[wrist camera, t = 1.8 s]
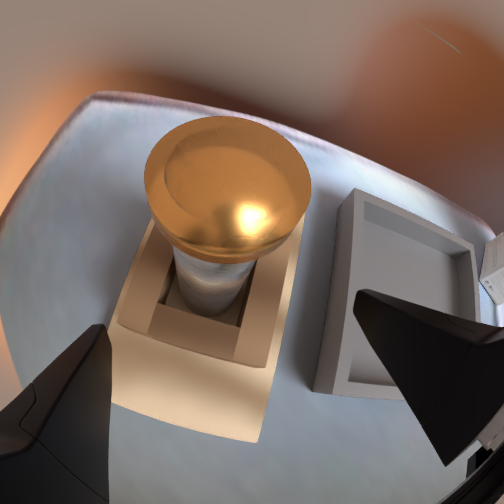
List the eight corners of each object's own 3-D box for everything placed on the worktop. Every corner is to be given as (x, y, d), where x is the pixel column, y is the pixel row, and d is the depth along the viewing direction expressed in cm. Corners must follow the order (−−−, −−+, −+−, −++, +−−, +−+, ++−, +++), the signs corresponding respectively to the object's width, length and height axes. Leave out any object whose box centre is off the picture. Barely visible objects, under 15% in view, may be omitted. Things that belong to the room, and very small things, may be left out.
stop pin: (234, 334, 19) (298, 271, 7) (162, 312, 19) (114, 215, 7) (251, 267, 21) (317, 142, 10) (184, 247, 21) (183, 104, 9)
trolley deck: (254, 439, 17) (267, 454, 13) (94, 391, 16) (73, 395, 13) (302, 208, 26) (319, 183, 22) (178, 171, 25) (177, 141, 21)
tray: (451, 400, 21) (476, 398, 17) (311, 391, 19) (332, 394, 16) (454, 256, 28) (473, 244, 25) (338, 208, 27) (354, 187, 23)
